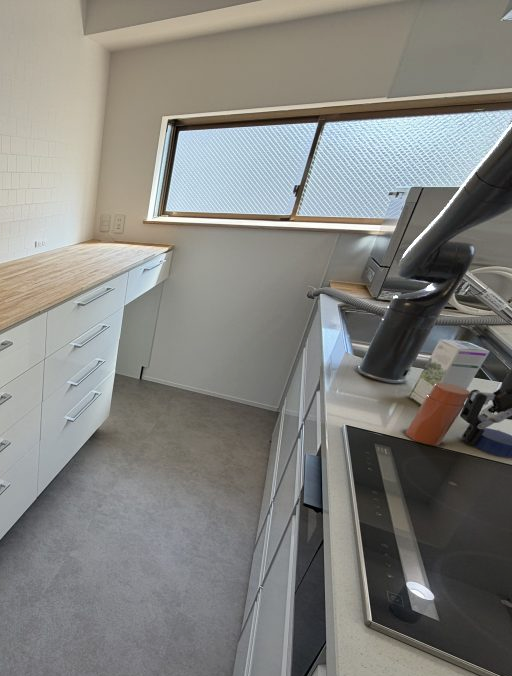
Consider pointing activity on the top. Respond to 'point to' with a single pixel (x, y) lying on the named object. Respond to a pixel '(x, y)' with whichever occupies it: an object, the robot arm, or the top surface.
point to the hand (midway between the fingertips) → (491, 448)
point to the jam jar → (437, 413)
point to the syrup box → (449, 367)
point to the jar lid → (495, 443)
